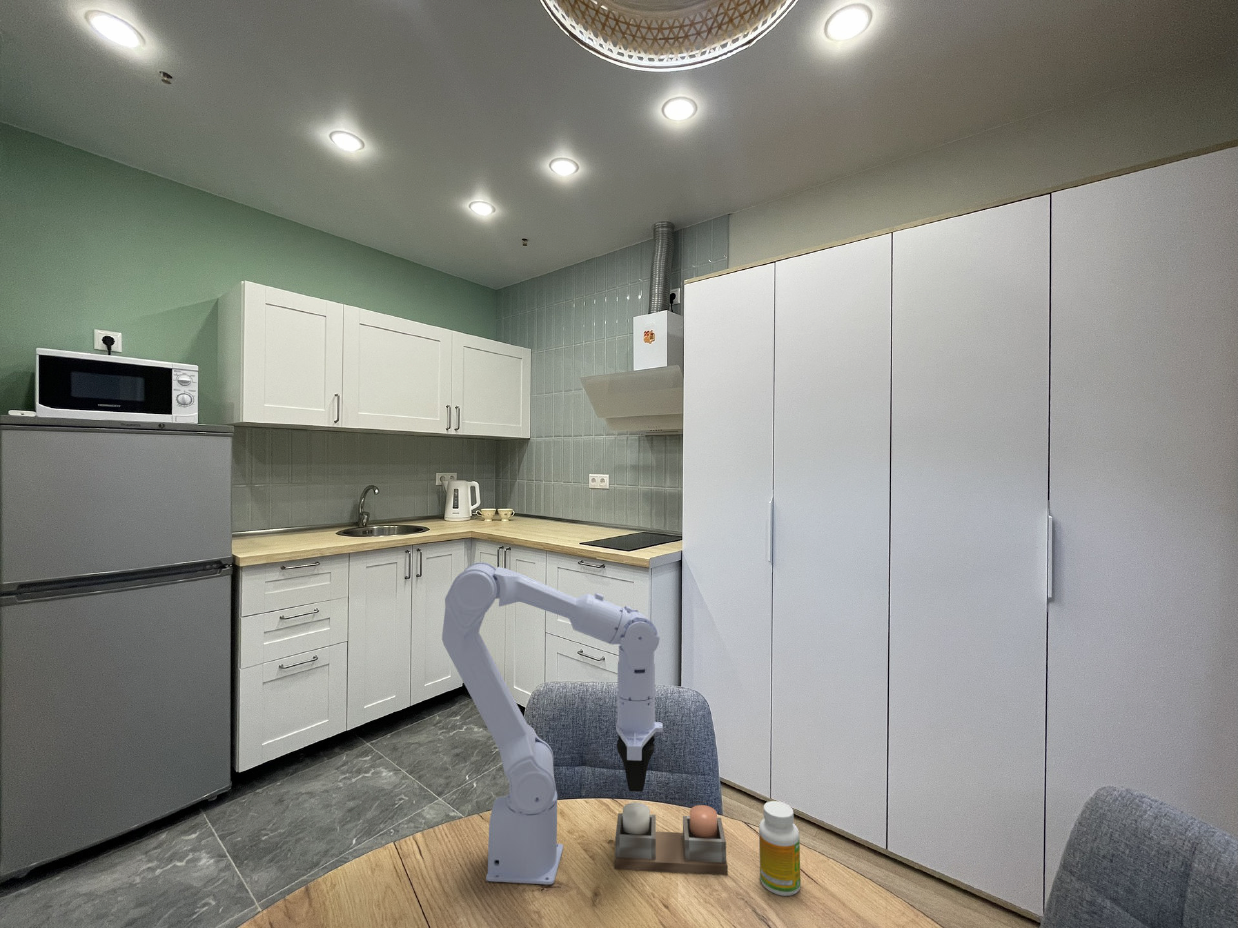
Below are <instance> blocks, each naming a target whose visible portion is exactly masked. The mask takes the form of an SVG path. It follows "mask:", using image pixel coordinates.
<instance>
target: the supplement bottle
mask: <svg viewBox="0 0 1238 928" xmlns="http://www.w3.org/2000/svg"><path fill="white" fill-rule="evenodd" d="M794 817H795V816H794V810H793V808H792V807H791V806H790V805H789V804H787V803H785V802H782V801H777V800H770V801H767V802H766V803H764V805H763V819H762V820H760V822H759V825H758V838H759V839H758V841H759V843H758V845H759V849H758V851H759V853H758V854H759V856H758V857H759V879H760V882H761V884H762V885H763V886H764V888H765V889H767V890H768V891H770V892H771V893H773V894H775V895H778V896H783V897H784V896H785V897H787V896H794V895H796V894H797V893H798V892H799V891H800V889H801V884H802V883H801V851H800V849H801V848H800V847H801V845H800V844H801V842H800V831H799V829H798V827H797V825H796V824H795V823H794V822H795V821H794V819H795V818H794Z"/></svg>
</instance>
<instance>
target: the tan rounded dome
mask: <svg viewBox="0 0 1238 928" xmlns="http://www.w3.org/2000/svg"><path fill="white" fill-rule="evenodd" d="M689 816H690V831H691V833H692V834H693V835H695V836H697V837H699V838H712V837H714V836H715V835H716V834H717V818H718V813H717V811H716V809H714V808H713V807H711V806H708V805H706V804H705V805H704V804H701V805H700V804H697V805H695V806H692V807H691V808H690V809H689Z"/></svg>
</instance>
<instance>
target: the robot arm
mask: <svg viewBox="0 0 1238 928" xmlns="http://www.w3.org/2000/svg"><path fill="white" fill-rule="evenodd" d="M497 599H498V607H503V606H507V605H512V604H515V603H523V604H526V605H529V606H532V607H534V608H537V609H541V610H544V611H546V612H549V613H551V614H552V613H553V614H555V615H558V616H561V617H563V618H567V619H568V620H569V622H570V624H571V627H572V629H573V631H576V632H578V633H580V634H583V635H585V636H589V637H591V638H594V639H596V640H599V641H601V642H604V643H606V644H608V645H618V661H617V708H616V709H617V710H616V711H617V719H616V720H617V722H616V723H615V730H616V732H617V734H618V736H617V742H616V750H617V753H618V755H619V756H620V758H621V762H622V764H623V768H624V772H625V778H626V784H627V788H628V790H629V792H636V793H637V792H641V793H642V792H644V788H645V785H646V777H647V771H648V766H649V763H650V761H651V758H652V756H653V754H654V752H655V748H656V747H655V746H656V744H655V743H654V742H655V740H656V738H655V737H656V733H663V731H664V730H663V729H664V728H663V726H664V725H663V723H662V722H661V721H659V722H658V721H656V697H655V696H656V670H655V669H656V663H655V651H656V650H657V648H658V647H659V644H660V640H661V639H660V638H661V637H660V636H658V630H657V628H656V626H655V625H654V623H653V622H652V621H651V620H650V619H649V618H648V617H647V616H646V615H644V613H642V612H639V611H638V609H633V608H632V607H631V606H628V605H624V607H622V606H620V605H618V604H615V603H612V602H610V601H608V600H605V596H604V595H603V594H601V593H599V592H595V593H594V595H593V594H590V593H585V594H583V595H581V596H577V597H575V596H573V595H570V594H567V593H566V592H564V591H561V590H559V589H557V588H554V587H552V586H549V585H547V584H545V583H543V582H540V581H539V580H535V579H533V578H531V577H529V576H527V575H524V574H522V573H520V572H517V571H514V570H511V569H509V568H505V567H501V566H497V568H496V567H494V566H493V565H492V564H490V563H488V562H483V561H481V562H480V561H478V562H475V563H474V562H473V563H472V564H470V565H468V566H467V567H466V568H465V569H464V570H463V571H462V572H460V573H459V574H458V575H457V576H456V577H455V578H454V580H453V582H452V584H451V585H450V587H449V590H448V591H447V594H446V596H445V598H444V603H445V604H444V605H445V606H444V615H443V616H444V617H443V625H442V626H443V627H442V635H441V640H442V644H443V646H444V648H445V650H446V652H447V654H448V656H449V658H450V659H451V661H452V663H453V665H454V667H455V669H456V670H457V671H456V672H457V673H458V675H459V676H460V678H461V680H462V682H463V685H464V686H465V688H466V689H467V691H468V693H469V695H470V697H471V699H472V701H473V702H474V704H475V707H476V709H477V711H478V712H479V714H480V716H481V718H482V719H483V721H484V724H485V726H486V727H487V730H488V731H489V733H490V735H491V736H492V739H493V741H494V743H495V745H496V746H497V748H498V751H499V755H500V759H501V764H502V767H503V770H504V771H503V772H504V774H505V777H506V778H507V780H508V784H509V791H508V792H509V793H507V795H504V796H498V797H496V798H495V800H494V803H493V804H492V808H491V812H490V817H489V823H488V843H487V844H488V845H487V846H488V848H487V850H488V851H487V874H486V875H485V876H486V877H485V880H486V881H487V882H500V883H501V882H502V883H516V884H517V883H518V884H536V885H553V884H554V883H555V880H556V877H557V873H558V869H559V866H560V862H561V858H562V854H563V851H564V845H563V844H562V843H557V842H558V792H557V789H556V780H555V776H554V761H555V760H554V758H555V757H554V752H553V749H552V748H551V746H550V745H549V744H548V743H547V742H546V741H544V740H543V739H541V738H540V737H539V736H538V735H537V733H536V731H535V730H534V728H533V727H532V726H531V725H529V723H527V721H526V719H525V717H524V715H523V713H522V712H521V709H520V707H519V706H518V704H517V702H516V700H515V699H514V696H513V695H512V693H511V691H510V688H509V687H508V685H507V683H506V681H505V680H504V677H503V675H502V674H501V672H500V670H499V668H498V666H497V665H496V662H495V661H494V659H493V656H492V655H491V653H490V651H489V649H488V647H487V645H486V643H485V641H484V640H483V638H482V636H481V634H480V630H481V626H482V623H483V621H484V619H485V615H486V614H487V612H489V610H490V608H491V607H492V605H493V604H494V603H495V600H497Z"/></svg>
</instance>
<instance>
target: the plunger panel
mask: <svg viewBox="0 0 1238 928" xmlns="http://www.w3.org/2000/svg"><path fill="white" fill-rule="evenodd" d="M656 818H657V817H656V814H650V828H649V831H648V832H647V833H645V834H642V835H631V834H628V833H627V832H625V831H624V829H623V812H622V813H618V814H617V820H616V821H617V822H616V827H615V828H616V829H615V839H614V840H615V843H614V844H615V847H614V848H615V849H614V851H615V853H614V859H613V860H614V861H613V862H614V864H613V867H614V868H613V869H614V870H626V871H628V870H629V871H643V872H645V871H646V872H661V873H662V872H666V873H683V874H684V873H685V874H689V873H690V874H701V875H702V874H703V875H704V874H706V875H707V874H708V875H723V876H728V872H729V871H728V870H729V869H728V861H727V841H726V837H725V831H724V826H723V821H722V817H717V834H716V835H715V836H714V837H712V838H699V837H697V836H695V835H693V834H692V833H691V831H690V815H689V816H688V815H683V816H682V832H678V831H677V832H675V831H673V832H671V831H656V830H657V827H656V824H657V822H656Z"/></svg>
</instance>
